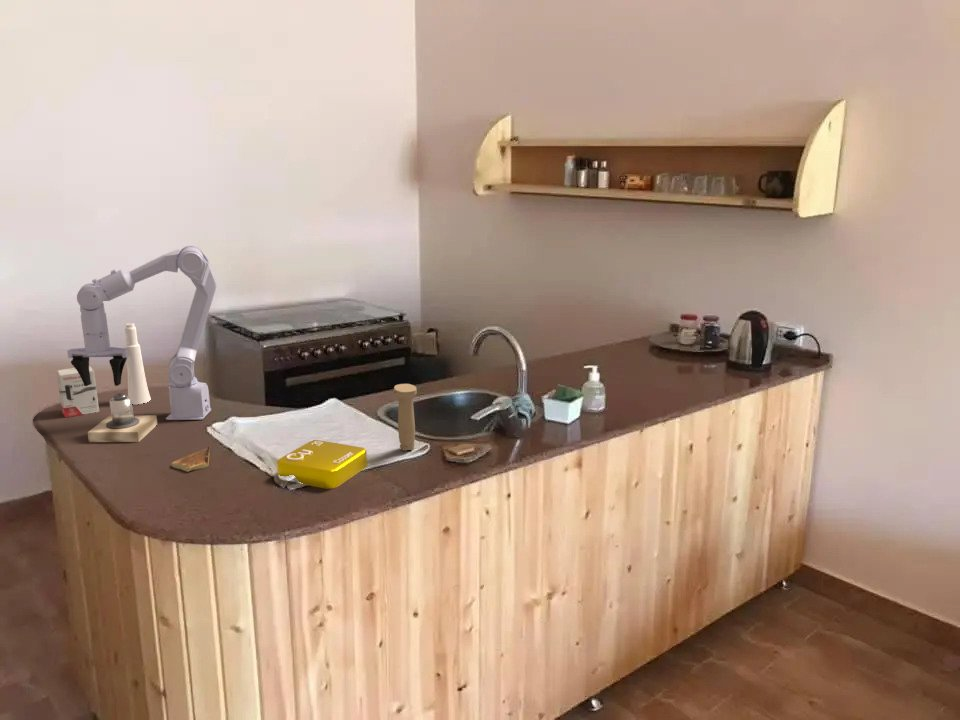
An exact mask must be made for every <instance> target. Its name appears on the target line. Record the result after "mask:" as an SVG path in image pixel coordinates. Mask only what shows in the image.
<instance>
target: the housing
mask: <svg viewBox="0 0 960 720" xmlns="http://www.w3.org/2000/svg"><path fill="white" fill-rule="evenodd" d="M112 396H113V397H112V398H110V399H109V407H110V416H111V417H112V424H113V425H117V426H122V425H128V424H131V423H133V422H134V416H135V415H134V408H133V405H132V399H131V397H130V396H128V393H124V392H123V393H122V392H120V393H115V394H113V395H112Z"/></svg>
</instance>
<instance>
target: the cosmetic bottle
mask: <svg viewBox="0 0 960 720" xmlns="http://www.w3.org/2000/svg"><path fill="white" fill-rule="evenodd" d="M124 331H125V340H126V341H125V342H126V345H125V347H124V348H129V356H128V357H127V360H126V362H125V364H126V374H127V396H130V397H131V399H132V404H133V405H132V406H137V405H138V404H139V405H144V404H143V403H145V404H147V402H148V403H149V401H150V400H151V401H152V399H151V398H152V397H151V396H150V395H151V394H150V392H149V388H148V384H147V379H146V374H145V367H144V362H143V357H142V356H143V355H142V350H141V345H140V343H139V342H138V340H139V339H138V333H137V332H138V331H137V327H136V326H135V322H127V323H126V324H125V328H124ZM151 401H150V402H151Z"/></svg>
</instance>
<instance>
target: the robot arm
mask: <svg viewBox="0 0 960 720" xmlns="http://www.w3.org/2000/svg"><path fill="white" fill-rule="evenodd" d="M178 269H179V270H180V272H181V273H183V274H184V275H185V276H187V277H188V278H189V279H190V281H191V282H192V284H193V285H194V286H195V291H194V295H193V299H192V301H191V305H190V308H189V311H188V315H187V318H186V321H185V324H184V328H183V331H182V335H181V338H180V341H179V344H178V346H177V348H176V351H175V354H174V355H172V357H171V358H170V359H169V362H168V371H167V377H168V379H169V381H167V385H168V386H167V387H168V395H169V403H170V404H169V405H170V412H171V413H170V414H168V416H167V417H165V419H166V421H191V420H192V421H193V420H195V421H196V420H197V421H200V420H201V421H202V420H204V418H206V416H207V415H208V414H209V413H210V412H212V408H211V402H210V391H209V386H208V384H207V382H200V381H198V378H197V377H196V376H195V369H194V368H195V362H196V358H197V357H196V356H197V352H198V348H199V345H200V341H201V339H202V335H203V332H204V330H205V329H204V328H205V326H206V322H207V319H208V316H209V315H208V314H209V312H210V309H211V306H212V303H213V299H214V295H215V293H216V290H217V282H216V279H215V277H214V276H215V275H214V273H213V269H212V268H211V265H210V262H209V259H208V258H207V256H206V255H205V253H204V252H203V251H202V250H201V248H199V247H198V246H194V245H187V246H184V247H183V248H181V249H175V250H172V251H169V252H167V253H165V254H163V255H160V256H158V257H156V258H154V259H151V260H150V261H148V262H146V263H144V264H142V265H140V266H138V267H136V268H134V269H132V270H130V271H129V270H125V269H119V270H117V269H116V268H114V269H112V270H110V274H108V275H106V276H103V277H101V278H99V279H97V278H94V279H92V281H91V282H89V283H88V282H87V283H86V284H84V285H82V286H81V287H80V289H78V291H77V295H76V300H77V301H76V302H77V303H78V305H79V307H80V308H79V310H80V321H81V322H80V323H81V328H82V329H81V330H82V335H83V337H82V338H83V343H84V347H81V348H69V349H68V350H66V351H67V358H68V359H71V360H70V363H71V365H72V366H73V368H75V369H76V370H77V371H78V373H79V375H80V377H81V379H82V381H83V383H84V386H88V385H89V384H91V379H90V373H89V366H90V358H111V359H109V362H108V363H109V365H110V367H111V371H112V375H113V376H112V377H113V384H114V386H115V387H117V386H119V385H121V384H122V375H123V370H124V368H125V365H126V360H127V357H128V356H129V348H126V347H115V346H111V343H110V335H109V326H108V318H107V313H106V310H105V304H104V302H110V301H113V300H114V299H117V298H118V297H121V296H123V295H125V294H127V293H130V292H132V291H134V289H135V285H136V284H137V283H140V282H141V281H144V280H146V279H149V278H152V277H154V276H156V275H158V274H161V273H163V272H169V273H170V272H172V273H178Z"/></svg>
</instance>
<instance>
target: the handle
mask: <svg viewBox="0 0 960 720" xmlns="http://www.w3.org/2000/svg"><path fill="white" fill-rule="evenodd" d="M393 393H394V396H395V397H397V398H398V413H397V414H398V417H397V428H398V430H397V431H398V440H399V449H400V448H401V449H404V450H412V451H413V449H414V447H415V438H416V424H415V422H416V421H415V411H414V409H415V408H414V397H415V396H417V393H418V392H417V386H416V385H414V384H411V383H399V384H396V385H394V387H393ZM401 449H400V450H401ZM404 450H403V451H404Z"/></svg>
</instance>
